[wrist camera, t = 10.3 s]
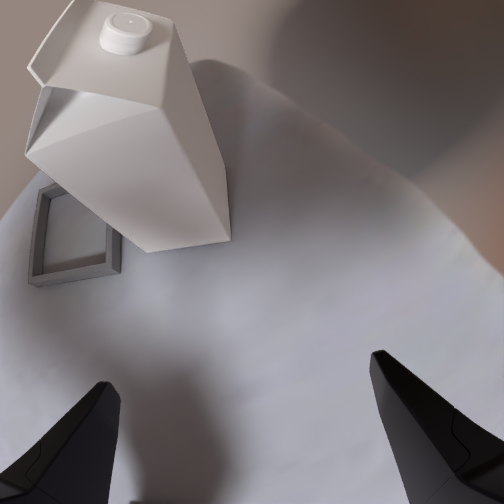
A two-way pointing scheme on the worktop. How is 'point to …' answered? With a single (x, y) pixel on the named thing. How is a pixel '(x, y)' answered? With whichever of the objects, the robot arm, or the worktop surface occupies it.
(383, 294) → the worktop surface
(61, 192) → the drip tray
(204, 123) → the milk carton
